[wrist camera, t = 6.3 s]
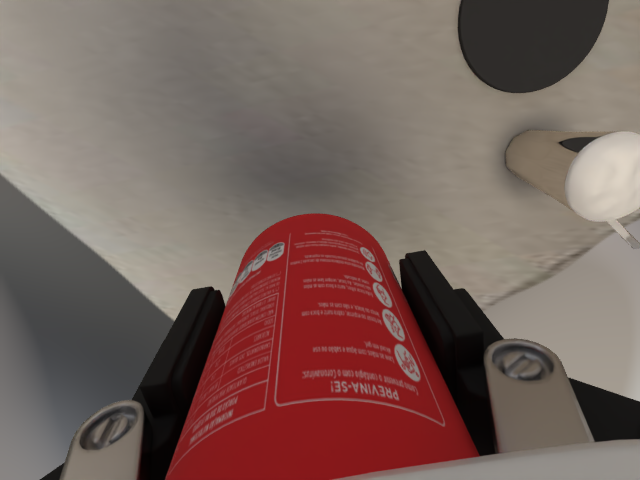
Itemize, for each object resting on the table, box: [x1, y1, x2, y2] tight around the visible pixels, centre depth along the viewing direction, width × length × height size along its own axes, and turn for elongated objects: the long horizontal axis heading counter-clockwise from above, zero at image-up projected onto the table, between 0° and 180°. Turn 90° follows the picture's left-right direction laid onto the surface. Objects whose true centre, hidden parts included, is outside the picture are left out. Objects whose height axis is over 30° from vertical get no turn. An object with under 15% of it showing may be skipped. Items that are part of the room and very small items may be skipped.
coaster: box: [458, 0, 609, 93], centre depth 23 cm, size 9×9×1 cm
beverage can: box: [165, 214, 480, 480], centre depth 8 cm, size 5×5×12 cm
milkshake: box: [505, 130, 640, 249], centre depth 22 cm, size 4×5×10 cm
